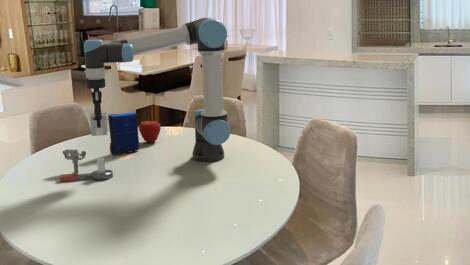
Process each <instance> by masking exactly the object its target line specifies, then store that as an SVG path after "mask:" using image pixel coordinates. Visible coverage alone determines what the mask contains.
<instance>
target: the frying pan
mask: <svg viewBox="0 0 470 265" xmlns="http://www.w3.org/2000/svg"><path fill="white" fill-rule="evenodd" d="M96 161H97V162H96V163H97V169H96V170H93V171H92V172H90V173H89V172H88V173H79V172H77V173H65V174H64V173H63V174H60V175H59V182H60V183H65V182H66V183H67V182H78V181H85V180H86V181H88V180H93V181H97V182H98V181H107V180H111V179H113V177H114V174H113V170H111V169H106V162H105V157H98V158H96ZM78 173H79V174H78Z"/></svg>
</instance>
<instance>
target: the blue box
mask: <svg viewBox="0 0 470 265" xmlns="http://www.w3.org/2000/svg"><path fill="white" fill-rule="evenodd" d="M138 124H139V122H138V114H137V113H136V112H135V111H129V112H122V113H110V114H108V125H109V126H108V127H109V138H110V143H109V152H110V155H112V156H116V155H123V154H128V153H129V154H130V153H132V152H133V153H134V152H136V151H137V152H138V151H139V150H140V138H139V125H138Z"/></svg>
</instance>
